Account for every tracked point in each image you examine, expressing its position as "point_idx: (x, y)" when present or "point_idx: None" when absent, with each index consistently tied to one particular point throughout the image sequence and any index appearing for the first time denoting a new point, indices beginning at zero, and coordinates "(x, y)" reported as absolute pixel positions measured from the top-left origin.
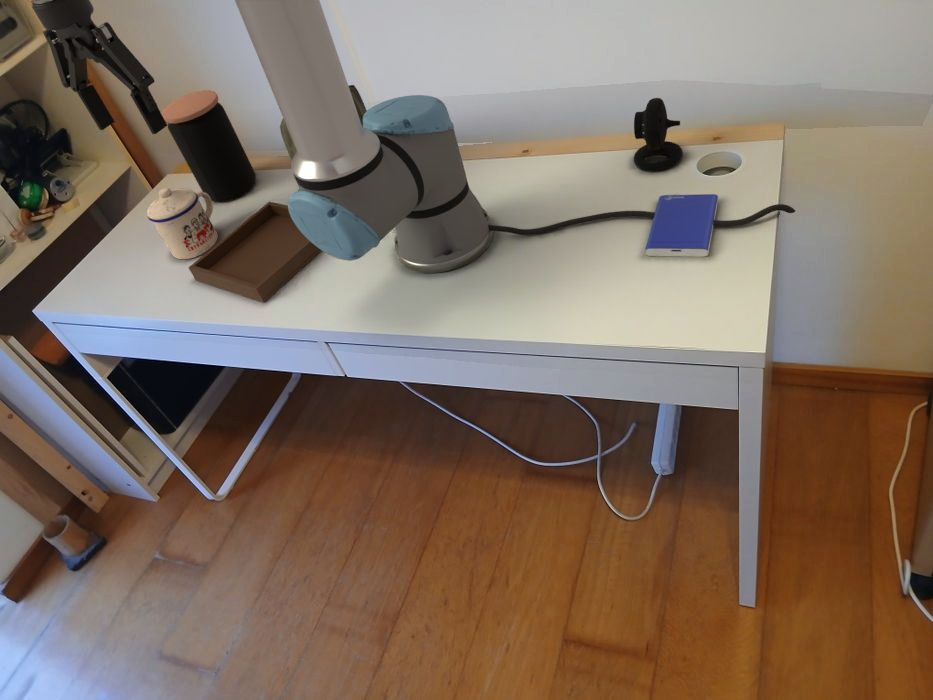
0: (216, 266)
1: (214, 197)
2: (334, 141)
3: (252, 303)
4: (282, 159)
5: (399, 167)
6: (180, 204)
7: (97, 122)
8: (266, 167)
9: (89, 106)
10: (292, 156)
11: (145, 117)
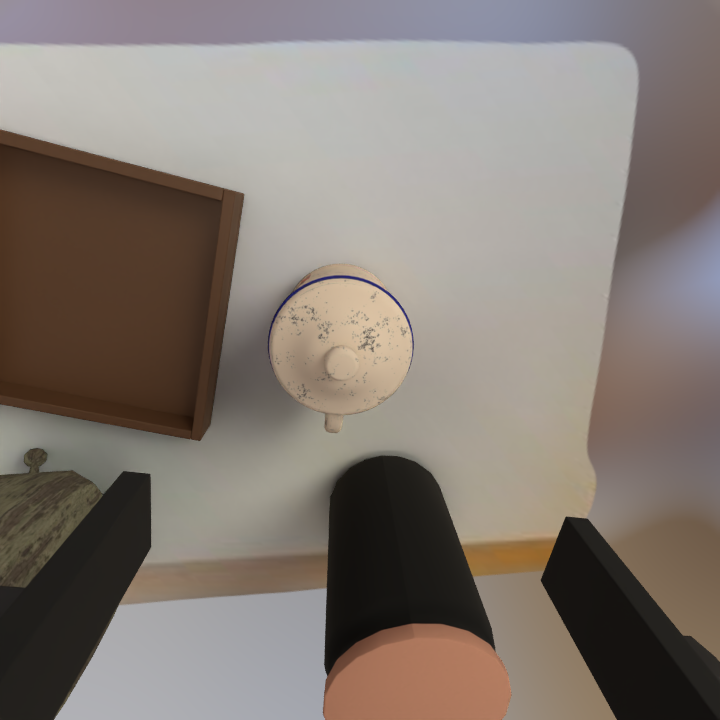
0: (211, 239)
1: (385, 459)
2: None
3: (17, 122)
4: None
5: None
6: (286, 338)
7: (594, 549)
8: None
9: (656, 648)
10: (16, 525)
11: (65, 546)
